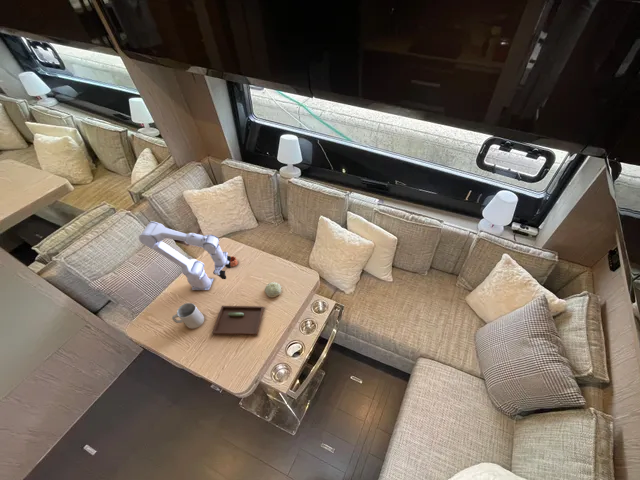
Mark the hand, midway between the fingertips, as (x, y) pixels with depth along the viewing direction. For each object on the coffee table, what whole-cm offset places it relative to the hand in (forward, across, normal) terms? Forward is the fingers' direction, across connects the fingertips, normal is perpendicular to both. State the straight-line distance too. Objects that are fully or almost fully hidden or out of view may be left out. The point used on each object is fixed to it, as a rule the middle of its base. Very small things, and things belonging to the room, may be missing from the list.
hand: (226, 273), depth 149 cm
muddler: (+9, -20, -4) cm, 23 cm away
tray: (+10, -23, -11) cm, 28 cm away
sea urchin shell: (+11, -4, -24) cm, 27 cm away
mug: (+11, -25, +13) cm, 30 cm away
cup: (+10, +16, +4) cm, 19 cm away
